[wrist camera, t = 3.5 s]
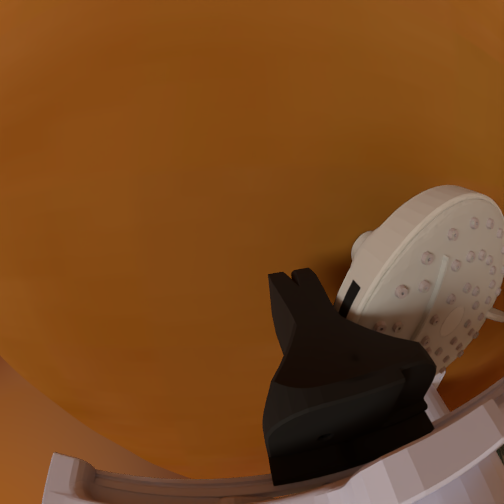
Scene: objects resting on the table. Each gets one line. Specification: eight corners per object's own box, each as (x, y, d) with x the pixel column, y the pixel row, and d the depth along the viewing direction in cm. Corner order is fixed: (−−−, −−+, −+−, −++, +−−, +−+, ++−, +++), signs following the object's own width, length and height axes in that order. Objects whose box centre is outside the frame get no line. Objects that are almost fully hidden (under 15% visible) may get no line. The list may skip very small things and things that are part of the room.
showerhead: (462, 387, 11) (311, 437, 8) (401, 318, 17) (266, 321, 15) (542, 231, 7) (437, 161, 5) (449, 188, 14) (310, 139, 11)
